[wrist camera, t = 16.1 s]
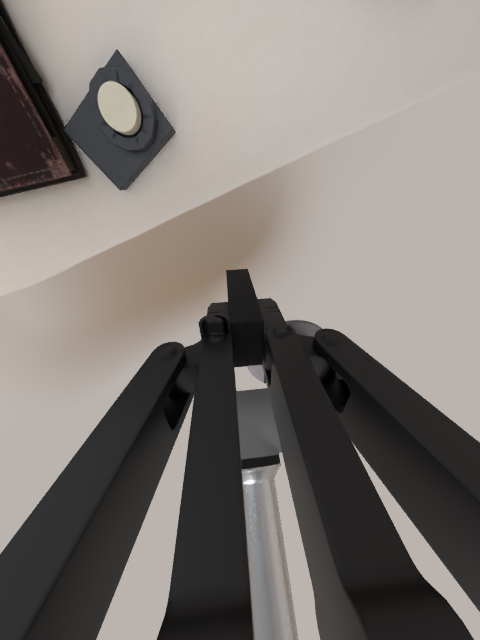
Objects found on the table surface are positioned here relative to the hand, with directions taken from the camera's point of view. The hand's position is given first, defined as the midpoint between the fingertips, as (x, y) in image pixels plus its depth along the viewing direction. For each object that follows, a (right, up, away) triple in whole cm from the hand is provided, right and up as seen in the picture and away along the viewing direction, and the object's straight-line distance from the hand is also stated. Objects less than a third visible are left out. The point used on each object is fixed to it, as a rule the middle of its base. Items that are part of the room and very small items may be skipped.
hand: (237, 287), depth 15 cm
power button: (-14, +22, +9) cm, 28 cm away
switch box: (-15, +23, +13) cm, 31 cm away
